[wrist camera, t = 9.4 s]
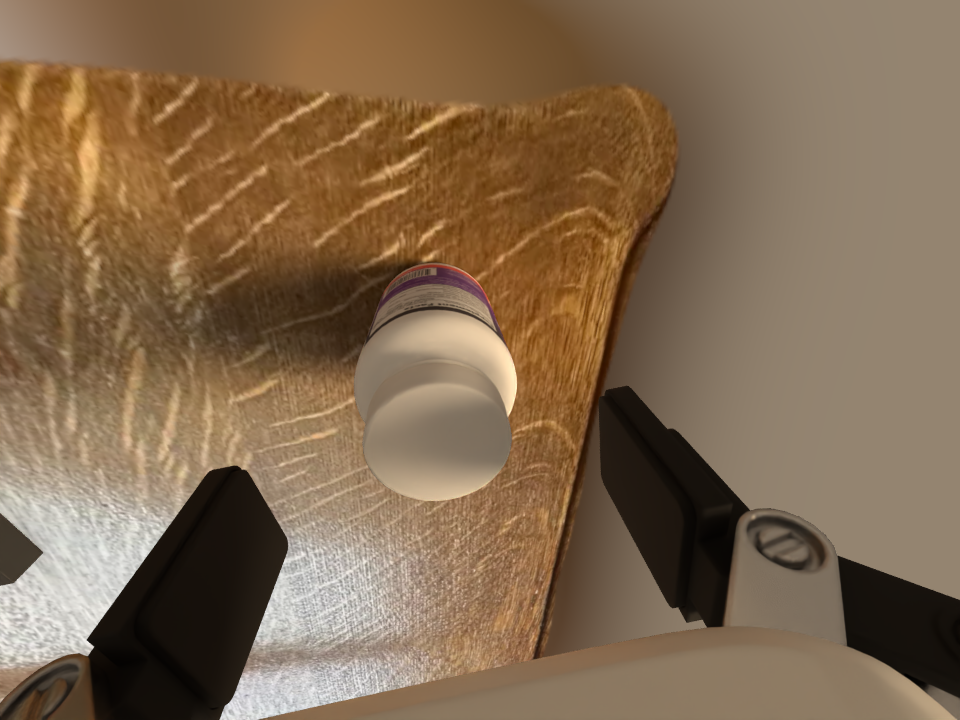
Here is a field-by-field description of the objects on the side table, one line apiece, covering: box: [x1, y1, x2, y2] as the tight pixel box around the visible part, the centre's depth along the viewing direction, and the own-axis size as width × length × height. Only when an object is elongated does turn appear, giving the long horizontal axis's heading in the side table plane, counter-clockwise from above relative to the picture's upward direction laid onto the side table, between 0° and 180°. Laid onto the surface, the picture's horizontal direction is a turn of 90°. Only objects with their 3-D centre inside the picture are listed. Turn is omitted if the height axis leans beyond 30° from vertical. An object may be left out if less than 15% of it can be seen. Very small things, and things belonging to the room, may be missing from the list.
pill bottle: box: [354, 263, 517, 501], centre depth 15 cm, size 5×5×10 cm
